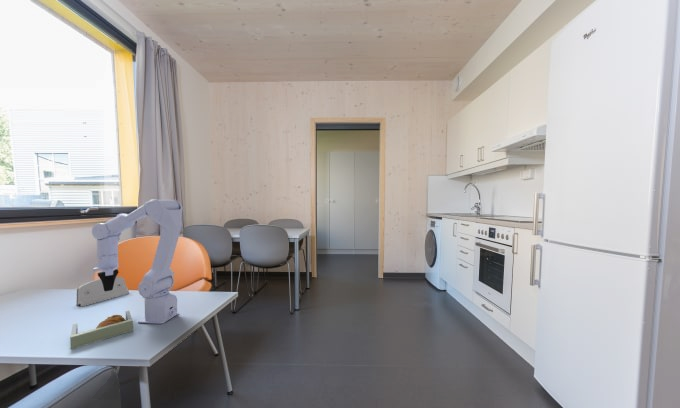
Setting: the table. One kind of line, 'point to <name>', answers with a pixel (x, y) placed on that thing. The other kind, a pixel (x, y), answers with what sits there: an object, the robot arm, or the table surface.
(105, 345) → the table surface
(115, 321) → the pastry
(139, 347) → the table surface
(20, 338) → the table surface
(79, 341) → the chute dock
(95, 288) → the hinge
